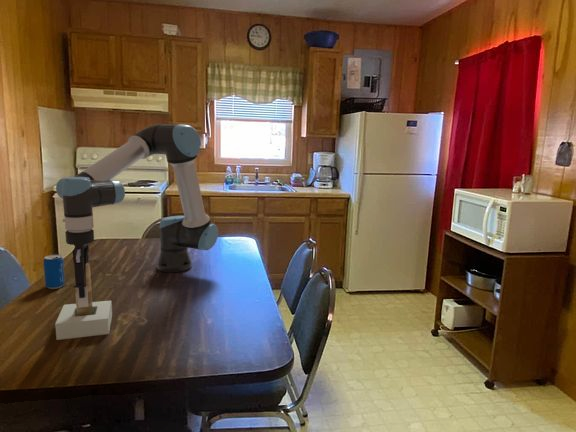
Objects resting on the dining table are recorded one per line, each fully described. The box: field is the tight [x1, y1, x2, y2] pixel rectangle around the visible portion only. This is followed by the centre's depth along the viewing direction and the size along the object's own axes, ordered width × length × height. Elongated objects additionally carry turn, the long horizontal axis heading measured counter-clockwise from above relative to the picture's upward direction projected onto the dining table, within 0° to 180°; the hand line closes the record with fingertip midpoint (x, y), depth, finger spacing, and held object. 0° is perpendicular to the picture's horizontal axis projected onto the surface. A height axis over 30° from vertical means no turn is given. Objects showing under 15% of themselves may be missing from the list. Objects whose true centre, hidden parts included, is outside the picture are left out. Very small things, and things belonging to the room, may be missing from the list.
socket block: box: [54, 300, 113, 341], centre depth 129 cm, size 14×14×5 cm
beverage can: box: [43, 254, 66, 290], centre depth 159 cm, size 6×6×12 cm
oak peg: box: [73, 262, 93, 316], centre depth 127 cm, size 4×4×16 cm
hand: (84, 303), depth 128 cm, fingers closed on oak peg, 4 cm apart
